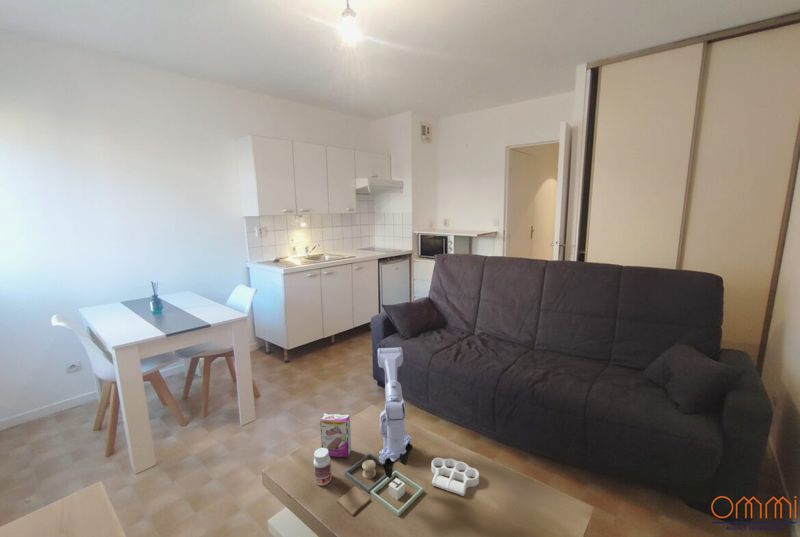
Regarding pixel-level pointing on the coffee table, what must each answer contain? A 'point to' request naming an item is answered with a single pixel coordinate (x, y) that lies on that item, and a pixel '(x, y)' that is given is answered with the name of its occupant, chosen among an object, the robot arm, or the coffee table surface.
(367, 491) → the charcoal tray
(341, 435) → the candy bar box
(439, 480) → the knuckle duster
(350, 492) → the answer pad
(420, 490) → the green tray
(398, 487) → the letter cube
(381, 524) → the coffee table surface
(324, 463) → the pill bottle
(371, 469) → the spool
